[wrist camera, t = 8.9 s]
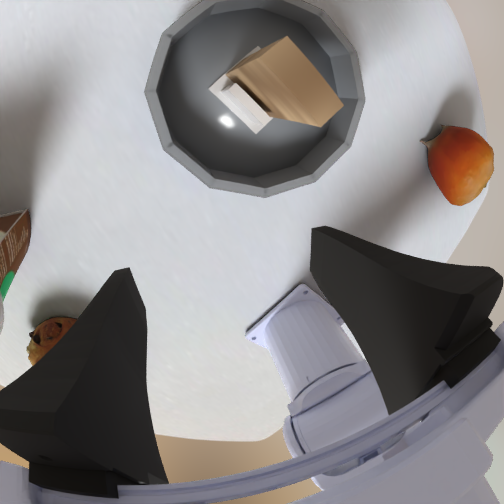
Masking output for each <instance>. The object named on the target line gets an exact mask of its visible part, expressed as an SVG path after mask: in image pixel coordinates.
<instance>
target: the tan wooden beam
mask: <svg viewBox="0 0 504 504" xmlns="http://www.w3.org/2000/svg"><path fill="white" fill-rule="evenodd" d="M225 75H226V76H227V77H228V78H229V79H231V80H232V81H233V82H234V83H237V84H238V85H239V86H240V87H241V88H242V89H243V90H244V91H245V92H246V93H247V94H248V95H249V96H250V97H251V98H252V99H253V100H254V101H255V102H256V103H257V104H258V105H259V106H260V107H261V108H262V109H263V110H264V111H265V112H266V114H267V115H268V116H269V117H273V118H279V119H284V120H290V121H295V122H300V123H304V124H309V125H313V126H318V127H322V126H323V125H324V124H325V123H326V122H327V121H328V120H329V119H330V118H331V117H332V116H333V115H334V114H335V113H336V112H338V111H339V110H340V109H341V108H342V107H343V106H344V105H343V103H342V102H341V100H340V99H339V98H338V96H337V95H336V94H335V92H334V91H333V90H332V88H331V87H330V86H329V84H328V83H327V82H326V81H325V79H324V78H323V77H322V75H321V74H320V73H319V72H318V71H317V69H316V68H315V67H314V66H313V64H312V63H311V62H310V61H309V60H308V59H307V57H306V56H305V55H304V54H303V53H302V52H301V51H300V49H299V48H298V47H297V46H296V45H295V44H294V43H293V42H292V41H291V40H290V38H289V37H288V36H286V37H284V38H282V39H280V40H278V41H276V42H274V43H272V44H270V45H268V46H266V47H264V48H262V49H260V50H259V51H257V52H255V53H253V54H251V55H249V56H248V57H246V58H244V59H243V60H242V61H240V62H239V63H238V64H237V65H236V66H235V67H233V68H232V69H231V70H230V71H229V72H228V73H227V74H225Z"/></svg>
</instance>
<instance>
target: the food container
mask: <svg viewBox="0 0 504 504" xmlns="http://www.w3.org/2000/svg"><path fill="white" fill-rule="evenodd" d="M30 237H31V223H30V215H29V210H28V209H24V210H20V211H15V212H10V213H6V214H2V215H0V334H1V331H2V328H3V322H4V308H3V301H4V298H5V296H6V294H7V291H8V289H9V287H10V285H11V283H12V281H13V278H14V276H15V274H16V272H17V270H18V268H19V266H20V264H21V263H22V261H23V259H24V257H25V255H26V253H27V250H28V247H29V243H30Z"/></svg>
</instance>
